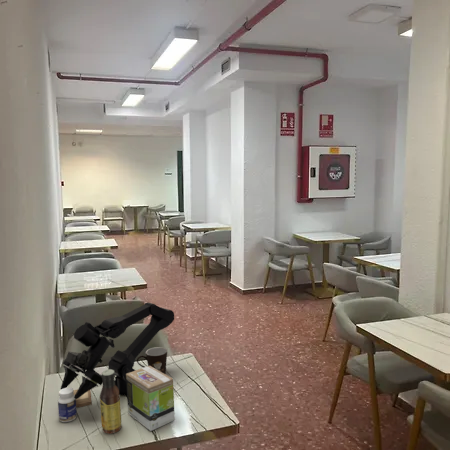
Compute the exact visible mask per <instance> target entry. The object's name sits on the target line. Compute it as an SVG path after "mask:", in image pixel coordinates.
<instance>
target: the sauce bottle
mask: <svg viewBox="0 0 450 450" xmlns="http://www.w3.org/2000/svg"><path fill="white" fill-rule="evenodd" d="M101 375H102V380H103V383H102V385H101V386H102V387H101V391H100V393H99V407H100V421H101V428H102V431H103V433H105V434H109V435H110V434H116V433H118V432H119V431H120V430H121V428H122V409H121V397H120V395H119V389H118V388H117V386H116V385H115V377H116V376H115V371H114V370H111V369H109V368H108V369H105V370H103V371H102V372H101Z"/></svg>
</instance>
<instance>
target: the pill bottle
mask: <svg viewBox="0 0 450 450" xmlns="http://www.w3.org/2000/svg"><path fill="white" fill-rule="evenodd" d="M74 390H75V389H74V388H72V387H66V388H64V389H61V388H60V390H59V391H58V396H59V397H58V398H57V406H58V408H57V409H58V420H59V422H61V423H70V422H72V421H75V419H76V418H77V415H78V414H77V408H76V399H75V398H74V396H75V395H74V394H73V393H74Z"/></svg>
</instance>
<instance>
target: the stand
mask: <svg viewBox="0 0 450 450" xmlns="http://www.w3.org/2000/svg"><path fill="white" fill-rule="evenodd" d="M78 389H79V388H77V389H73V390H74V393H73V394H74V395H75V394H76V392H77V390H78ZM92 405H93V399H92V389H91V390H89V391H88V392H86V393H85V394H83V395H82V396H80V397H79V398H78V399H76V409H78V408H83V407H86V406H87V407H88V406H92Z"/></svg>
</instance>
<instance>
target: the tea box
mask: <svg viewBox="0 0 450 450" xmlns="http://www.w3.org/2000/svg"><path fill="white" fill-rule="evenodd" d="M135 370H136V371H133V372H130V373H127V374H126V384H127V396H126V398H127V399H126V401H127V413H128V414H129V415H130V416H131V417H132V418H133V419H135V420H136V421H137V422H138V423H140V424H141V425H142V426H144V427H145V428H146V429H147V430H148V431H150V432H152V431H154V430H157V429H159V428H161V427H163V426H165V425H167V424H169V423H171V422H172V423H173V421H175V420H176V416H175V414H176V413H175V396H174V395H175V394H174V393H175V392H174V379H173V377H170V376H169V375H168V374H164V373H162V372H160V371H159V370H157V369H155V368H153V367H151V366H148V365H147V366H145V367H144V368H143V367H141V368H140V369H135Z"/></svg>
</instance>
